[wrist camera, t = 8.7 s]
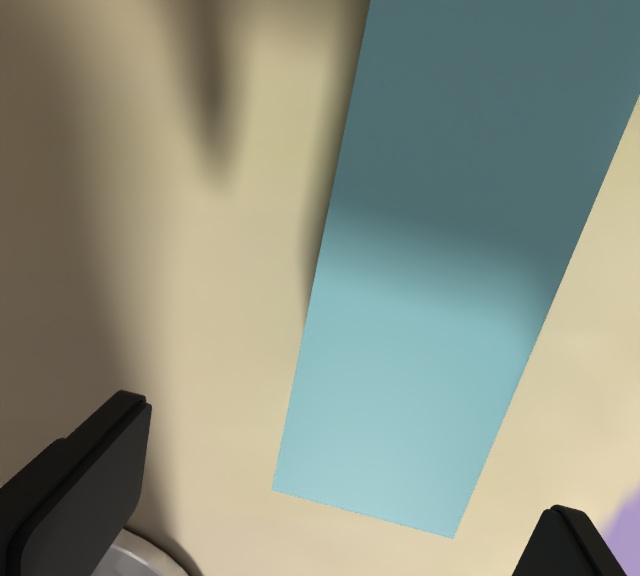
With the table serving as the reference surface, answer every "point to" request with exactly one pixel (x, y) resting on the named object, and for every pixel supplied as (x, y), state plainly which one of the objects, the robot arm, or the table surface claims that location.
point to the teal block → (449, 241)
